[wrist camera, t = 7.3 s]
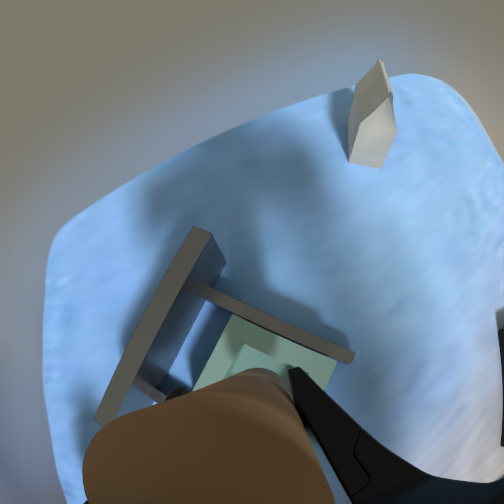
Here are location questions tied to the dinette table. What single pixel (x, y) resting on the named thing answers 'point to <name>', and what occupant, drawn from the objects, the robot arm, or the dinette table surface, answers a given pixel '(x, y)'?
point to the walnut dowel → (209, 449)
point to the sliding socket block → (261, 355)
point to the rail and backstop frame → (185, 328)
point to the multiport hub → (503, 343)
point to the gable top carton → (371, 119)
